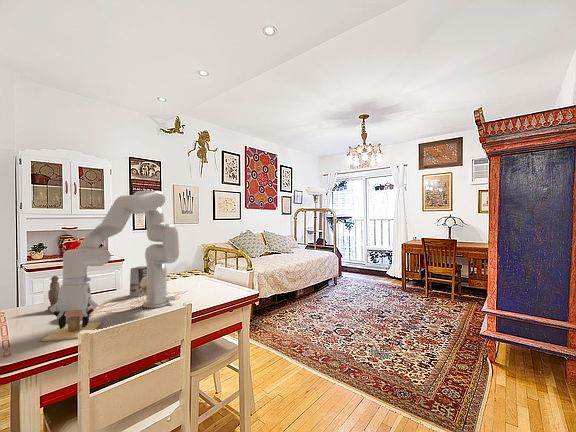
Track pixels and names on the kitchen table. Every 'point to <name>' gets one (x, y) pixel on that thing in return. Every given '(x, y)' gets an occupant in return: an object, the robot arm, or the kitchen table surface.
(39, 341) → the mat
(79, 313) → the bowl
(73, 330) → the sheet
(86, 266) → the robot arm
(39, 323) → the kitchen table surface
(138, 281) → the coffee box
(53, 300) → the worn brown figurine
